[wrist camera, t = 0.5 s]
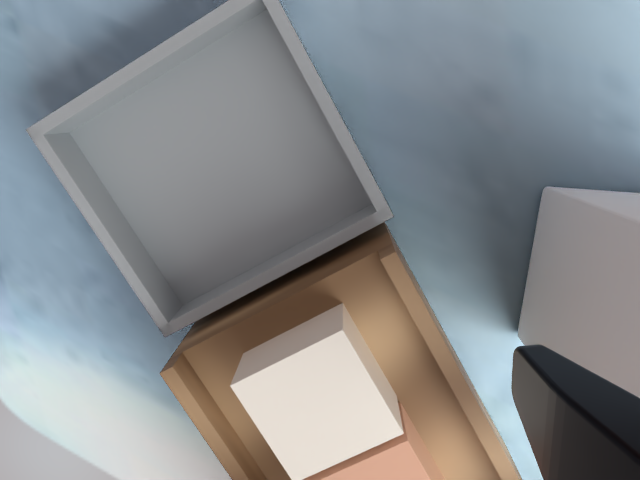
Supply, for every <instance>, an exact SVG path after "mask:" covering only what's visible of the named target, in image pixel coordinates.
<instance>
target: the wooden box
mask: <svg viewBox="0 0 640 480" xmlns="http://www.w3.org/2000/svg"><path fill="white" fill-rule="evenodd" d="M341 303H343V304H344V306H345V308H346V309H347V311H348V313H349V314H350V316H351V318H352V320H353V321H354V323H355V325H356V326H357V328H358V330H359V332H360V333H361V335H362V337H363V339H364V340H365V342H366V344H367V345H368V347H369V349H370V351H371V352H372V354H373V356H374V358H375V359H376V361H377V363H378V364H379V366H380V368H381V370H382V371H383V373H384V375H385V376H386V378H387V380H388V382H389V383H390V385H391V387H392V389H393V390H394V392H395V394H396V395H397V400H398V403H399V402H401V404H402V406H403V408H404V409H405V411H406V413H407V414H408V416H409V418H410V420H411V421H412V423H413V425H414V426H415V428H416V430H417V432H418V433H419V435H420V437H421V439H422V440H423V442H424V444H425V445H426V447H427V449H428V451H429V452H430V454H431V456H432V458H433V459H434V461H435V463H436V464H437V466H438V468H439V470H440V471H441V473H442V475H443V477H444V478H445V480H522V478H521V476H520V474H519V472H518V470H517V468H516V466H515V464H514V462H513V460H512V457H511V455H510V453H509V451H508V449H507V447H506V445H505V443H504V442H503V440H502V438H501V436H500V434H499V432H498V430H497V429H496V427H495V425H494V423H493V421H492V419H491V417H490V416H489V414H488V412H487V410H486V408H485V406H484V405H483V403H482V401H481V399H480V397H479V395H478V393H477V392H476V390H475V388H474V386H473V384H472V382H471V381H470V379H469V377H468V375H467V373H466V371H465V369H464V368H463V366H462V364H461V362H460V360H459V358H458V357H457V355H456V353H455V351H454V349H453V347H452V345H451V344H450V342H449V340H448V338H447V336H446V334H445V332H444V331H443V329H442V327H441V325H440V323H439V321H438V320H437V318H436V316H435V314H434V312H433V310H432V308H431V307H430V305H429V303H428V301H427V299H426V297H425V296H424V294H423V292H422V290H421V288H420V286H419V284H418V283H417V281H416V279H415V277H414V275H413V273H412V271H411V270H410V268H409V266H408V264H407V262H406V260H405V259H404V257H403V255H402V253H401V251H400V249H399V247H398V246H397V244H396V242H395V240H394V238H393V236H392V235H391V233H390V231H389V229H388V227H387V225H386V223H385V222H383V223H381V224H379V225H377V226H375V227H373V228H372V229H370V230H368V231H366V232H364V233H362V234H360V235H358V236H356V237H355V238H353V239H351V240H349V241H347V242H345V243H343V244H341V245H339V246H337V247H336V248H334V249H332V250H330V251H328V252H326V253H324V254H322V255H320V256H319V257H317V258H315V259H313V260H311V261H309V262H307V263H305V264H303V265H301V266H300V267H298V268H296V269H294V270H292V271H290V272H288V273H286V274H284V275H283V276H281V277H279V278H277V279H275V280H273V281H271V282H269V283H267V284H265V285H264V286H262V287H260V288H258V289H256V290H254V291H252V292H250V293H248V294H247V295H245V296H243V297H241V298H239V299H237V300H235V301H233V302H231V303H229V304H228V305H226V306H224V307H222V308H220V309H218V310H216V311H214V312H212V313H211V314H209V315H207V316H205V317H203V318H201V319H199V320H197V321H196V322H195V323H194V325H193V326H192V328H191V329H190V330H189V332H188V333H187V335H186V336H185V338H184V339H183V341H182V342H181V343H180V345H179V346H178V348H177V349H176V351H175V352H174V353H173V355H172V356H171V358H170V359H169V361H168V362H167V363H166V365H165V366H164V368H163V369H162V371H161V372H160V375H161V376H162V378H163V379H164V381H165V382H166V384H167V385H168V387H169V388H170V390H171V391H172V392H173V394H174V395H175V397H176V398H177V400H178V401H179V403H180V404H181V406H182V407H183V408H184V410H185V411H186V413H187V414H188V416H189V417H190V419H191V420H192V422H193V423H194V425H195V426H196V427H197V429H198V430H199V432H200V433H201V435H202V436H203V438H204V439H205V441H206V442H207V444H208V445H209V446H210V448H211V449H212V451H213V452H214V454H215V455H216V457H217V458H218V460H219V461H220V463H221V464H222V465H223V467H224V468H225V470H226V471H227V473H228V474H229V476H230V477H231V479H232V480H291V478H290V477H289V475H288V474H287V472H286V471H285V469H284V467H283V466H282V464H281V463H280V461H279V460H278V458H277V457H276V455H275V454H274V452H273V451H272V449H271V448H270V446H269V445H268V443H267V442H266V440H265V439H264V437H263V435H262V434H261V432H260V431H259V429H258V428H257V426H256V425H255V423H254V422H253V420H252V419H251V417H250V416H249V414H248V413H247V411H246V410H245V408H244V407H243V405H242V403H241V402H240V400H239V399H238V397H237V396H236V394H235V393H234V391H233V390H232V388H231V387H230V385H231V382H232V380H233V377H234V375H235V372H236V370H237V368H238V365H239V363H240V360H241V358H242V355H243V353H245V352H247V351H249V350H251V349H253V348H255V347H257V346H259V345H261V344H263V343H265V342H267V341H268V340H270V339H272V338H274V337H276V336H278V335H280V334H282V333H284V332H286V331H288V330H290V329H292V328H294V327H296V326H298V325H300V324H302V323H304V322H306V321H308V320H310V319H312V318H314V317H316V316H318V315H320V314H322V313H324V312H326V311H328V310H330V309H332V308H334V307H335V306H337V305H339V304H341Z"/></svg>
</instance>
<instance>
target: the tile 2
mask: <svg viewBox="0 0 640 480" xmlns="http://www.w3.org/2000/svg"><path fill="white" fill-rule="evenodd" d="M398 406H399V411H400V416H401V421H402V427H403V432H404V434H402V435H400V436H398V437H395V438H393V439H391V440H389V441H387V442H384V443H382V444H380V445H378V446H375V447H373V448H371V449H369V450H367V451H364V452H362V453H360V454H358V455H356V456H353V457H351V458H349V459H347V460H345V461H342V462H340V463H338V464H336V465H334V466H331V467H329V468H327V469H325V470H322V471H320V472H318V473H316V474H314V475H311V476H309V477H307V478H305V479H303V480H445V478H444V477H443V475H442V473H441V471H440V470H439V468H438V466H437V464H436V463H435V461H434V459H433V458H432V456H431V454H430V452H429V451H428V449H427V447H426V445H425V444H424V442H423V440H422V439H421V437H420V435H419V433H418V432H417V430H416V428H415V426H414V425H413V423H412V421H411V420H410V418H409V416H408V414H407V413H406V411H405V409H404V408H403V406H402V404H401V402H399V403H398Z"/></svg>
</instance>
